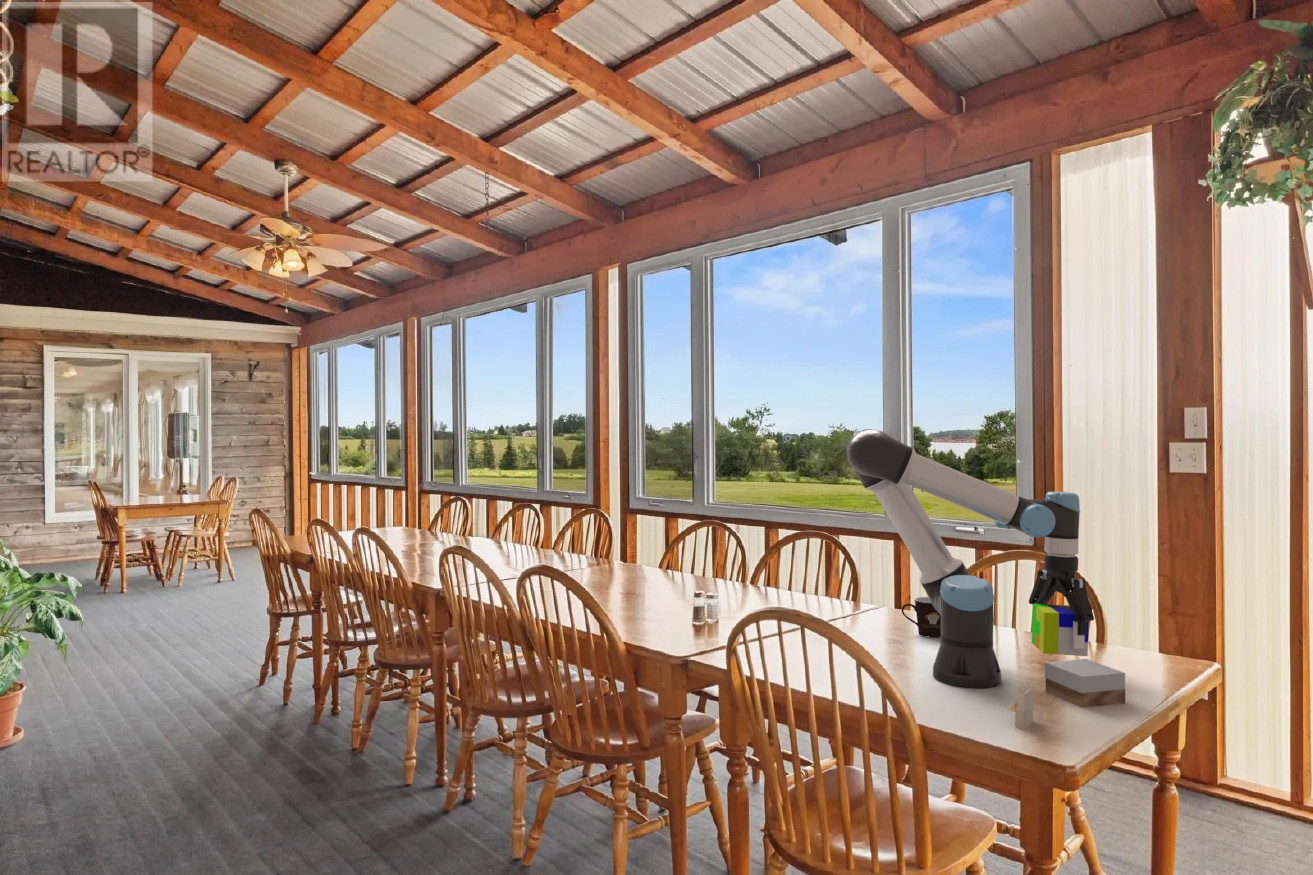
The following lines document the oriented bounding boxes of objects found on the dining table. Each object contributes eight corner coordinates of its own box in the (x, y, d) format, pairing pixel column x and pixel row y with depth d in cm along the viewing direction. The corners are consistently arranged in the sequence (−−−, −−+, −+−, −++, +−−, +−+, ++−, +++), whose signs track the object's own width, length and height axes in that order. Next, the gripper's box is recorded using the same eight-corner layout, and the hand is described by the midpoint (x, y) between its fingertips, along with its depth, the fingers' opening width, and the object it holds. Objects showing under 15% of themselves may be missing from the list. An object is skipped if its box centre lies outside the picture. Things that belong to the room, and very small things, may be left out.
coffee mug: (949, 633, 235) (949, 599, 235) (942, 639, 228) (942, 604, 228) (908, 628, 242) (908, 594, 241) (900, 634, 234) (900, 599, 234)
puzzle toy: (1087, 656, 195) (1088, 614, 195) (1043, 653, 197) (1044, 612, 197) (1073, 645, 205) (1074, 606, 205) (1031, 642, 207) (1032, 603, 207)
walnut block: (1081, 709, 172) (1081, 693, 172) (1045, 693, 183) (1045, 677, 183) (1125, 705, 175) (1125, 689, 175) (1086, 689, 186) (1086, 674, 186)
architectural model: (1007, 727, 162) (1007, 690, 162) (1017, 718, 167) (1017, 682, 167) (1025, 731, 160) (1025, 694, 160) (1035, 722, 165) (1035, 685, 165)
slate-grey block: (1082, 693, 172) (1082, 676, 172) (1045, 677, 183) (1045, 662, 183) (1124, 689, 175) (1124, 672, 175) (1086, 674, 186) (1086, 659, 186)
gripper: (1112, 562, 190) (1110, 653, 190) (1039, 546, 214) (1037, 628, 214) (1085, 563, 188) (1083, 655, 188) (1015, 547, 212) (1013, 629, 212)
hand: (1059, 641), depth 201 cm, fingers closed on puzzle toy, 12 cm apart
